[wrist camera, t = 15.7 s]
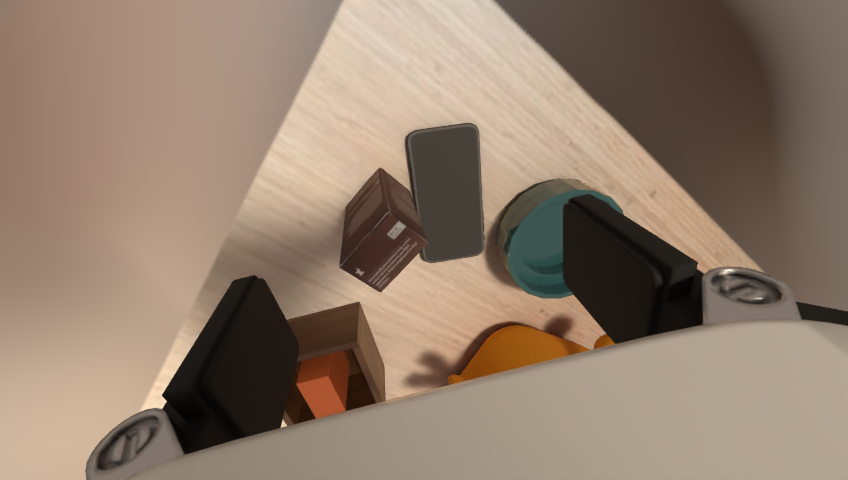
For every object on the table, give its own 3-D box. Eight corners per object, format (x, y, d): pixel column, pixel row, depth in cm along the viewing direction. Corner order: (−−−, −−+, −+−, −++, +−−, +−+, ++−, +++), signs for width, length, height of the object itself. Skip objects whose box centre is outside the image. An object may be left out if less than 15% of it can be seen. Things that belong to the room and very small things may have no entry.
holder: (554, 367, 26) (769, 437, 36) (489, 259, 41) (653, 329, 51) (389, 556, 37) (589, 572, 46) (384, 415, 52) (537, 449, 61)
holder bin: (267, 325, 42) (249, 368, 36) (359, 301, 42) (357, 341, 36) (302, 387, 47) (292, 434, 41) (384, 366, 47) (385, 409, 41)
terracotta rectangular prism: (307, 337, 42) (295, 384, 36) (334, 330, 42) (328, 376, 36) (323, 370, 45) (316, 418, 39) (349, 363, 45) (345, 411, 39)
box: (378, 231, 38) (380, 296, 27) (344, 207, 36) (332, 266, 26) (414, 191, 36) (431, 243, 26) (381, 164, 35) (384, 208, 24)
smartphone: (480, 121, 33) (485, 255, 40) (477, 120, 34) (483, 251, 41) (404, 132, 33) (423, 265, 39) (404, 130, 33) (422, 261, 40)
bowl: (488, 193, 38) (502, 208, 34) (604, 164, 38) (631, 175, 34) (500, 288, 44) (513, 310, 40) (599, 262, 44) (622, 282, 40)
